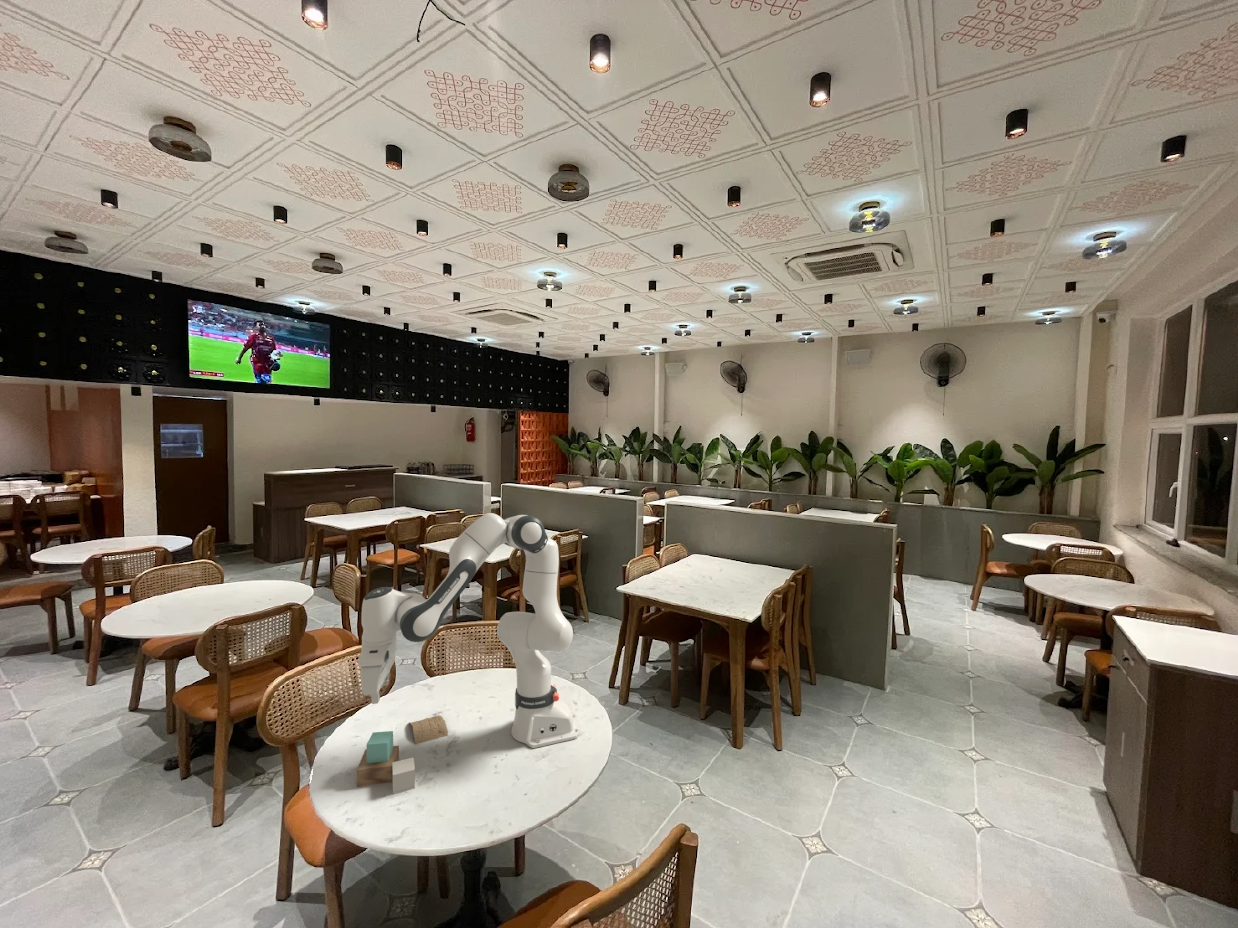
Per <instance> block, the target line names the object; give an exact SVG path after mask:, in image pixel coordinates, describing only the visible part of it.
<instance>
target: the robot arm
mask: <svg viewBox="0 0 1238 928" xmlns="http://www.w3.org/2000/svg"><path fill="white" fill-rule="evenodd" d="M547 534H548V533H546V529H545V526H544V524H543V522H542V521H541V520H540V519H539V518H537V517H536V516H533V515H528V514H518V515H517V514H516V515H511V516H508V517H505V518H502V517H501V515H498V514H496V513H493V512H487V513H485V514H483V515H482V516H479V518H477V519H476V520H474V521H473V522H472V523H471V524H470V525H469V526H467V528H465V530H464V531H463V532H462V533H460V535H459V536H458V537H457V538H456V539H455V541H454V542H453V543H452V545H451V546H450V548H449V551H448V558H449V569H448V573H447V574H446V576H445V578H444V579H443V580H442V581H441V582H440V584H439V585H438V586H437V588H436V589H435V590H434V591H433V592H432V593H431V595H430V596H429V597H428V598H427V599H426V598H425V597H424V595H421V594H420V593H416V592H404V591H399V590H396V589H394V588H392V587H390V586H384V587H378V588H375V589H373V590H371V591H370V592H368V593H366V594H365V596H364V597H363V600H362V604H361V627H362V630H363V631H362V635H361V651H360V654H359V658H358V661H357V662H358V663H357V664H358V665H357V666H358V667H359V668H360V683H361V685H360V686H361V692H362V695H363V696H365V697H366V696H370V698H371V699H370V700H371V704H373V705H376V704H379V702H380V699H381V695H380V690H381V688H382V686H383V687H384V686H387V685H388V684H389V682H390V680H389V679H390V678H389V677H390V673H391V668H392V667H393V665H394V663H395V661H396V652H397V650H398V644H397V643H398V640H397V639H398V638H397V636H398V633H397V632H398V631H401V634H402V636H403V637H404V638H405V639H406V640H407V641H410V642H411V643H422V642H425V641H427V640H429V639H431V638H432V637H433V636H434V635H435V634H436V633H437V632H438V630H439V629H440V626H441V624H442V621H443V619H444V617H445V615H446V614H447V612H448V611H449V610H450V608H451V607H452V606H453V604H454V603H455V602H456V600H457V599H458V598H459V597H460V595H461V594H462V593H463V591H464V590H465V589H466V588H467V587H468V585H469V584H470V583H471V581H472V579H473V578H474V576H475V575H476V573H477V572H478V570H479V569H480V567H481V566H482V565H483V564H484V563H485V561H486V560H487V559H488V558H489V557H490V556H491V555H492V554H493V552H495V550H496V549H497V548H499V547H500V546H501V545H503V544H504V545H506V546H508V547H511V548H514V549H518V550H523V552H524V555H525V567H524V573H523V582H522V595H523V597H524V598H525V599H526V601H528V602H529V603H530V604H531V605H532V607H533V609H534V612H533V613H532V612H526V611H511V612H510V611H509V612H505V613H504V614H503V615H502V616H501V617H500V619H499V621H498V623H497V628H496V632H497V637H498V639H499V641H500V642H502V643H503V644H504V646H505V647H506V648H507V650H508V651H509V652H510V654H511V656H512V659H513V661H514V664H515V669H516V671H515V672H516V688H515V691H514V692H515V693H514V705H515V706H514V707H515V714H514V720H513V723H512V727H511V730H510V733H511V736H512V738H513V739H514V740H516V741H518V742H520V743H523V744H525V745H526V746H528V747H530V748H531V749H536V748H541V747H546V746H550V745H554V744H558V743H562V742H563V743H564V742H567V741H571V740H575V739H577V738H578V737H579V736H580V732H581V724H580V720H579V718H578V716H577V715H576V714H575V713H574V712H573V711H572V707H571V706H570V703H569V702H567V701H566V700H564V699H562V698H561V697H560V695H559V693H558V690H557V688H556V685H555V684H553V685H552V666H551V663H550V661H549V660H548V659H547V657H545V655H543V654H542V653H541V652H547V653H562V652H565V651H567V649H569V647H570V645H571V644H572V641H573V639H574V638H573V637H574V631H573V630H574V629H573V627H572V624H571V623H570V621H569V620H568V619H567V618H566V617H565V616H564V614H563V612H562V610H561V608H560V606H559V605H560V604H559V601H558V596H557V595H558V594H557V593H558V576H559V567H560V559H559V557H560V555H559V554H560V553H559V546H558V545H559V544H557V542H556V541H555V540H554V539H552V538H549V537H548V535H547ZM540 651H541V652H540Z"/></svg>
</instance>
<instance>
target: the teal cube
mask: <svg viewBox="0 0 1238 928" xmlns="http://www.w3.org/2000/svg"><path fill="white" fill-rule="evenodd" d="M393 746H394V731H393V730H388V731H375V732H372V733H371V735H370V737H369V740H367V743H366V749H367V763H377V762H388V759H389V757H390V755H391V753H392V750H393Z"/></svg>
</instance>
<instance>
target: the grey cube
mask: <svg viewBox="0 0 1238 928" xmlns="http://www.w3.org/2000/svg"><path fill="white" fill-rule="evenodd" d="M391 783H392V795H395V794H399V793H403V792H407V791H410V790H414V789H416V785H415V784H416V767H415V757H409V758H405V759H401V760H400V759H399V761H396V762H392V782H391Z"/></svg>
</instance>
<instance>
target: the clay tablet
mask: <svg viewBox="0 0 1238 928" xmlns="http://www.w3.org/2000/svg"><path fill="white" fill-rule="evenodd" d="M409 724H410V725H411V726H412V733H413V737H414V738H413V739H414V742H415V745H419V744H422V743H425V742H430V741H432V740H436V739H440V738H444V737H447V736H448V735H449V734H448V733H449V731H448V728H447V724H446V721H445V719H444V717H443V716H442V715H434V716H431V717H428V718H424V719H421V720H418V721H417V720H416V721H412V722H409Z"/></svg>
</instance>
